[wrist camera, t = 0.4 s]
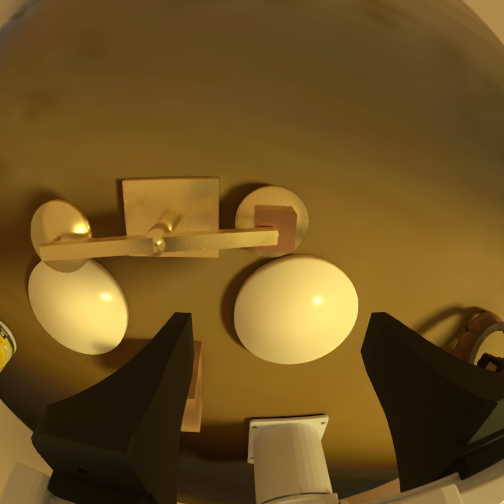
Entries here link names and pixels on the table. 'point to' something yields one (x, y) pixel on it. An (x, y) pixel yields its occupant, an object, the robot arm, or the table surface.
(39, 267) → the cream round disc
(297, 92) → the table surface
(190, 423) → the block
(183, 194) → the balance
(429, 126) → the table surface
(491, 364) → the brown segmented ring
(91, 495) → the robot arm
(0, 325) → the supplement bottle
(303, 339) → the dish low side
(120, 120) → the table surface
